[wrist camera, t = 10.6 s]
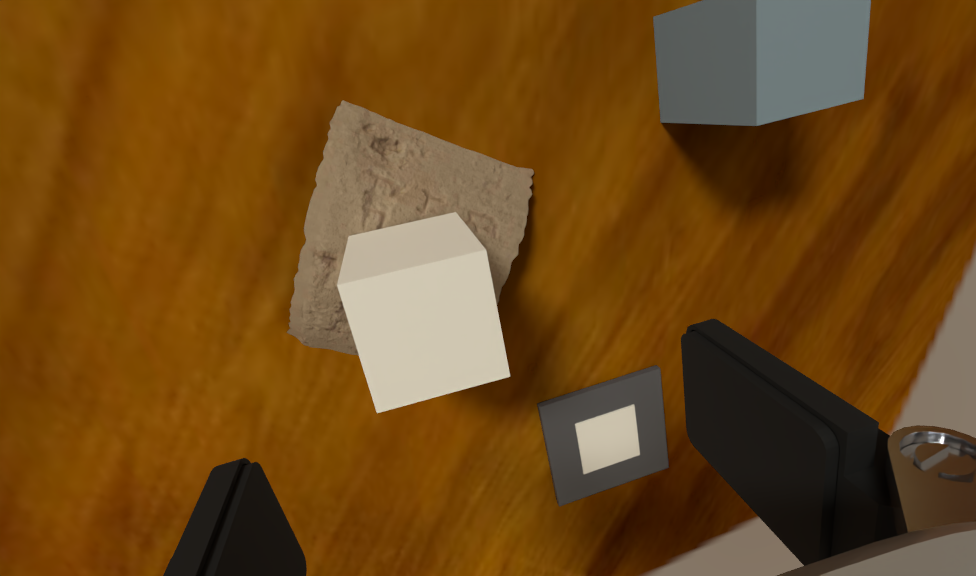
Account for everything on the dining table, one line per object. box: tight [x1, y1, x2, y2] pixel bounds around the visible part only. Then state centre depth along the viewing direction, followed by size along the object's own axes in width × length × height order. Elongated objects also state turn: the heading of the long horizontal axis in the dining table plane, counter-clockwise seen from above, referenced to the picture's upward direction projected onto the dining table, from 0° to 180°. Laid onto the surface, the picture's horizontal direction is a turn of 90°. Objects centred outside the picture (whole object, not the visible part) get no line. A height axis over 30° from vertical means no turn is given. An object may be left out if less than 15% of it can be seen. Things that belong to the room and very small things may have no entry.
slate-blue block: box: [653, 0, 871, 126], centre depth 22 cm, size 5×5×7 cm
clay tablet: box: [287, 100, 534, 355], centre depth 25 cm, size 14×10×3 cm
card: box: [537, 365, 669, 506], centre depth 32 cm, size 8×8×1 cm
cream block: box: [337, 212, 510, 413], centre depth 20 cm, size 5×5×7 cm
